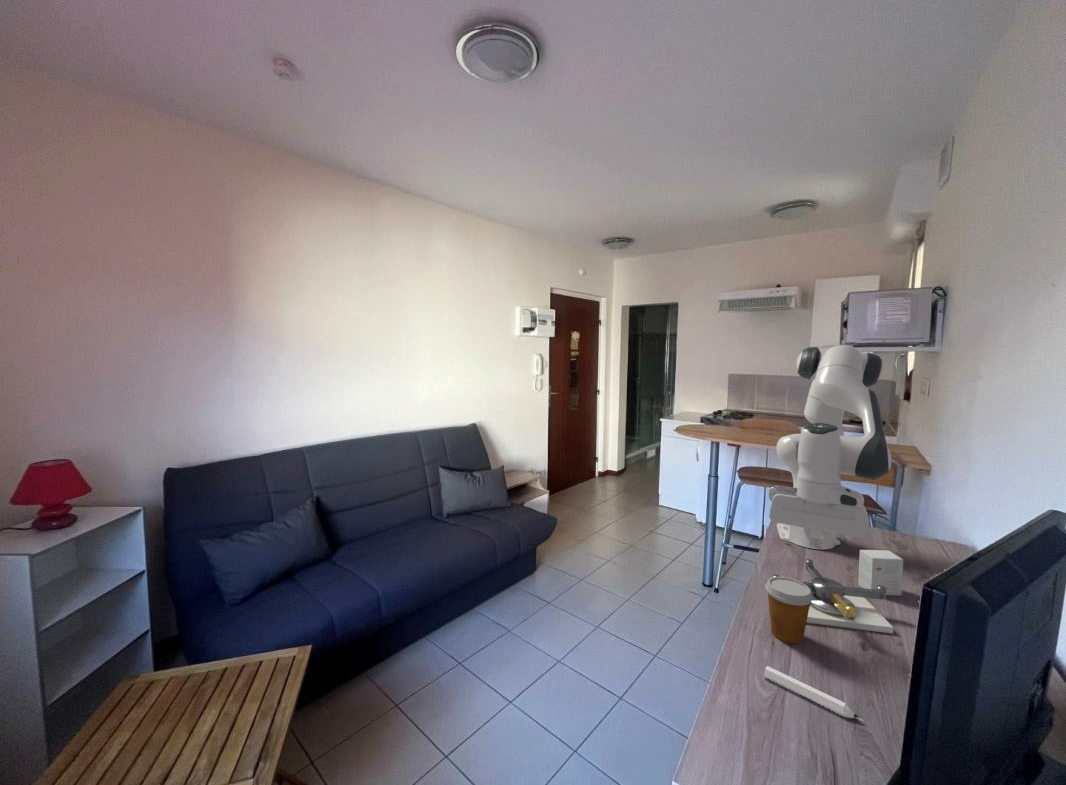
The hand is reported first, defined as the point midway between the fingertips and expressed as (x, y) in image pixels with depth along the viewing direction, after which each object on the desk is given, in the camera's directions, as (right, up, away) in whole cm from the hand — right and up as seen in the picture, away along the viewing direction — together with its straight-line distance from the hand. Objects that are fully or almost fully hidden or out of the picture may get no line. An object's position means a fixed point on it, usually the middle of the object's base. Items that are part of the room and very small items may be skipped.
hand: (815, 546), depth 103 cm
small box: (+28, -18, +16) cm, 37 cm away
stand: (+8, -18, +8) cm, 22 cm away
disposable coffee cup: (-10, -20, -4) cm, 22 cm away
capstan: (+8, -17, +7) cm, 20 cm away
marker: (-16, -21, -23) cm, 35 cm away
